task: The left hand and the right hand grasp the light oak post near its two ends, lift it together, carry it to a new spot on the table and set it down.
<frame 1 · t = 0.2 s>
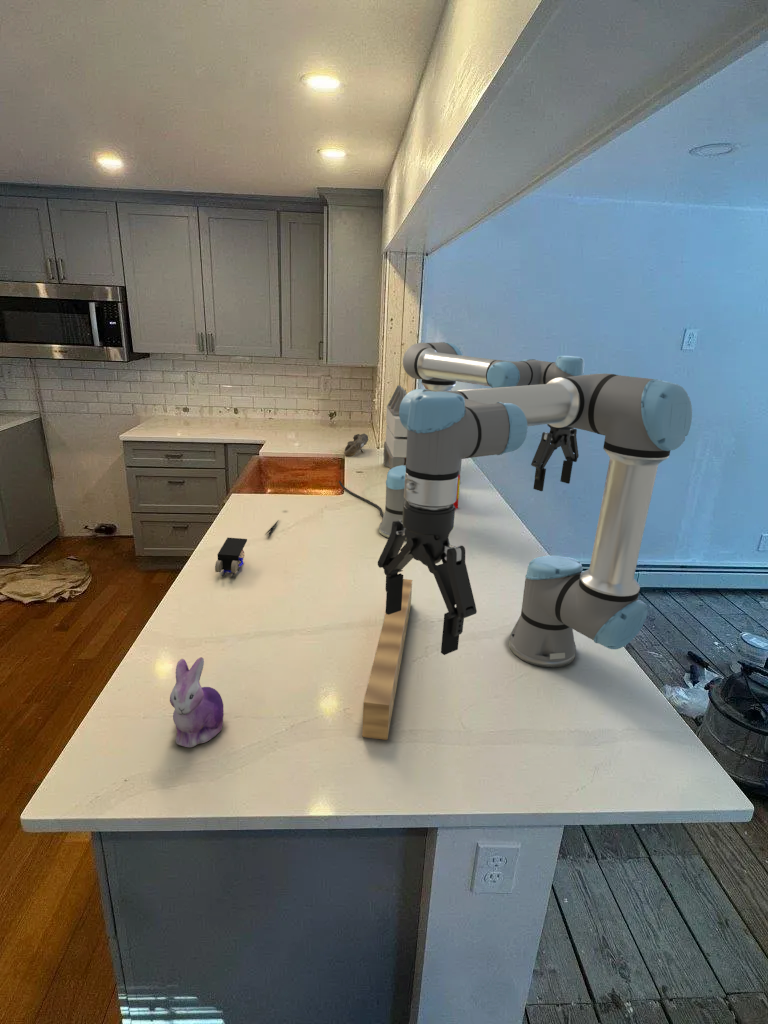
left hand: (551, 486, 165), 28 cm above the counter, tool pointing down, fingers open, 13 cm apart
right hand: (419, 630, 89), 28 cm above the counter, tool pointing down, fingers open, 13 cm apart
feather: (276, 524, 203), on the counter
toy: (441, 497, 240), on the counter
figurine: (199, 731, 104), on the counter
post: (390, 659, 128), on the counter
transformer: (419, 473, 275), on the counter
fossil: (356, 452, 308), on the counter
black boxy wheeled piece: (232, 569, 168), on the counter
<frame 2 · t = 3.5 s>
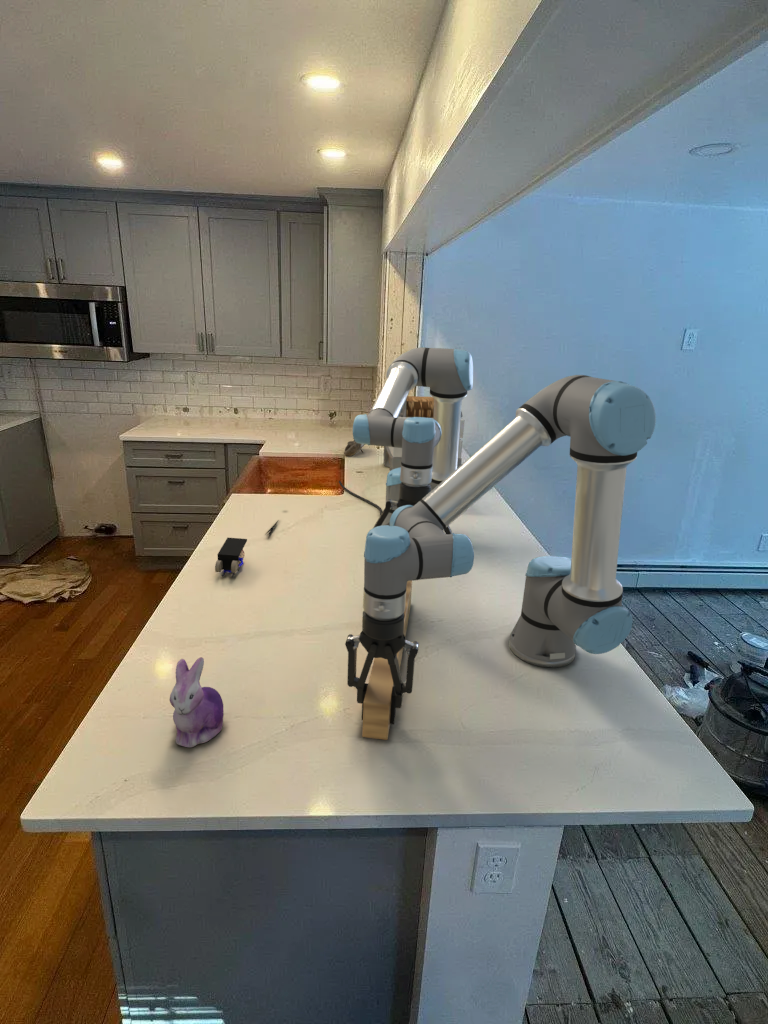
left hand: (410, 563, 143), 14 cm above the counter, tool pointing down, fingers open, 13 cm apart
right hand: (378, 717, 109), 1 cm above the counter, tool pointing down, fingers closed on post, 5 cm apart
post: (390, 659, 128), on the counter, touching right hand
everything else where it was.
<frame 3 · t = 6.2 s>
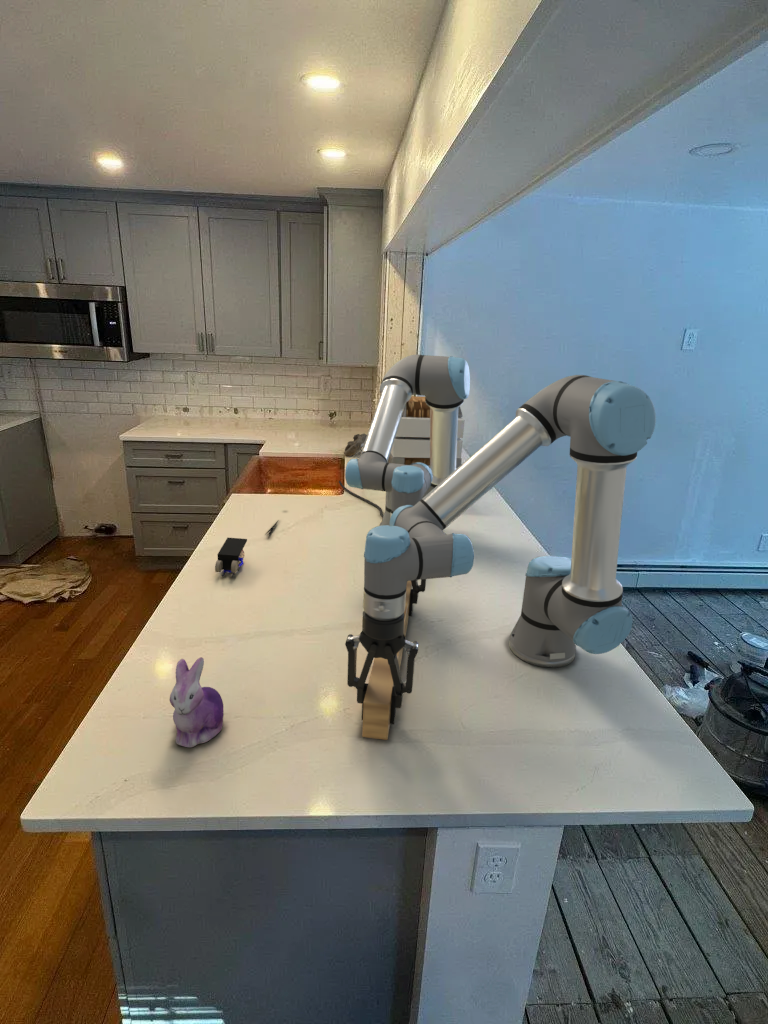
left hand: (400, 612, 147), 1 cm above the counter, tool pointing down, fingers closed on post, 5 cm apart
right hand: (378, 717, 109), 1 cm above the counter, tool pointing down, fingers closed on post, 5 cm apart
post: (390, 659, 128), on the counter, touching left hand, right hand
everything else where it was.
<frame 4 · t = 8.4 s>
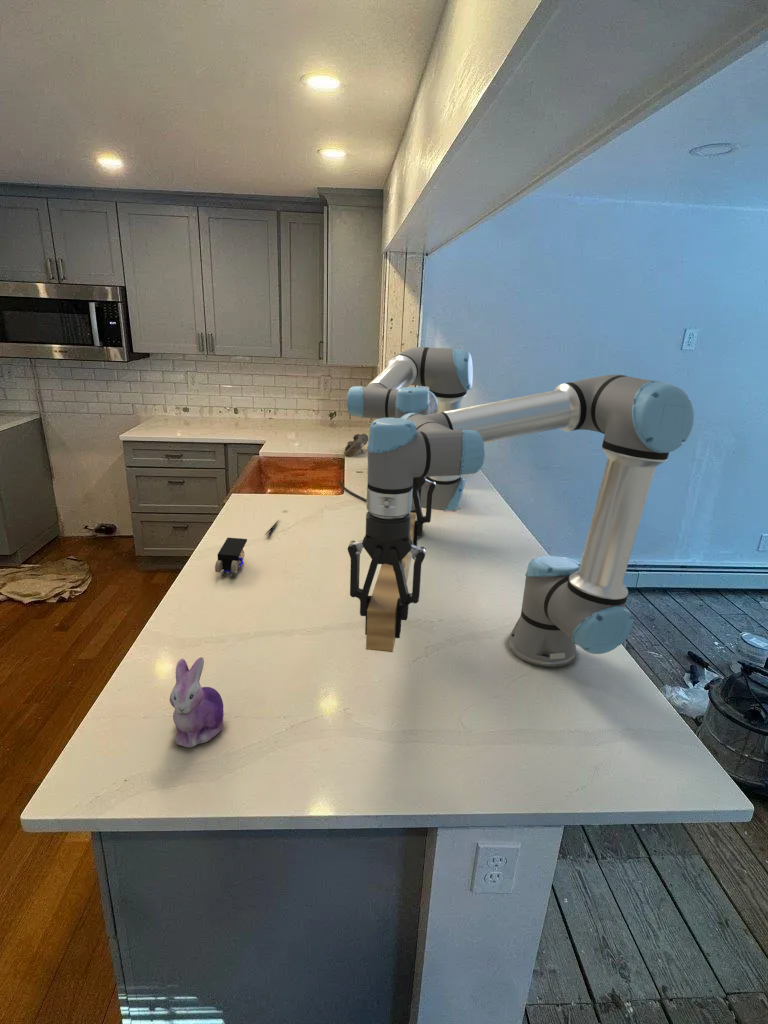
left hand: (404, 545, 141), 19 cm above the counter, tool pointing down, fingers closed on post, 5 cm apart
right hand: (383, 632, 103), 19 cm above the counter, tool pointing down, fingers closed on post, 5 cm apart
post: (395, 585, 122), point 19 cm above the counter, touching left hand, right hand
everything else where it was.
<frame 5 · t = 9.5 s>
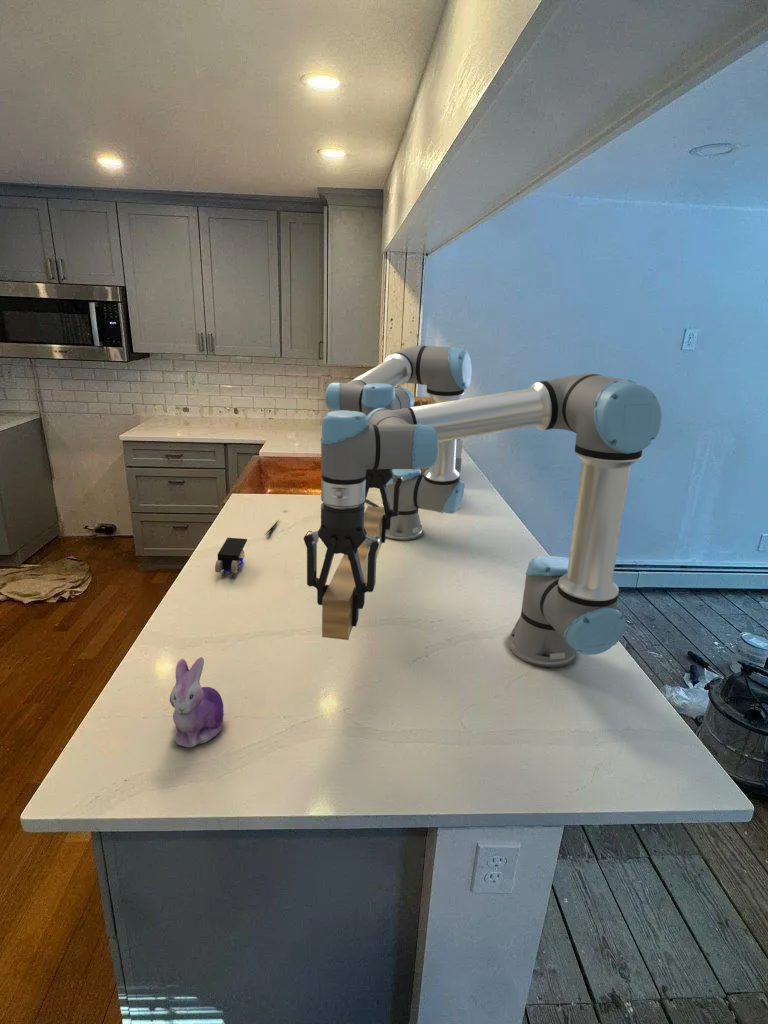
left hand: (372, 539, 143), 19 cm above the counter, tool pointing down, fingers closed on post, 5 cm apart
right hand: (340, 620, 105), 20 cm above the counter, tool pointing down, fingers closed on post, 5 cm apart
post: (359, 576, 124), point 19 cm above the counter, touching left hand, right hand
everything else where it was.
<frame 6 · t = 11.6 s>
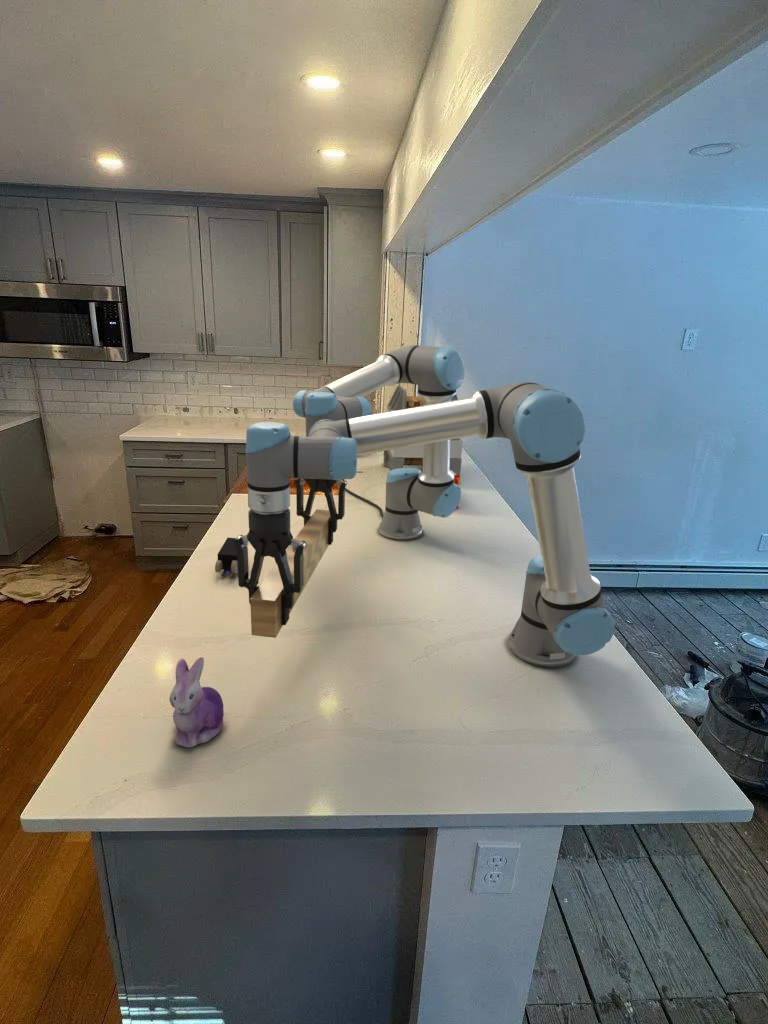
left hand: (320, 541, 149), 16 cm above the counter, tool pointing down, fingers closed on post, 5 cm apart
right hand: (271, 619, 111), 16 cm above the counter, tool pointing down, fingers closed on post, 5 cm apart
post: (299, 577, 130), point 16 cm above the counter, touching left hand, right hand
everything else where it was.
when the left hand's fingers open (2 cm above the counter, at t = 13.3 s): post drops 2 cm, on the counter.
when the right hand's fingers open (2 cm above the counter, at t = 13.3 s): post drops 2 cm, on the counter.
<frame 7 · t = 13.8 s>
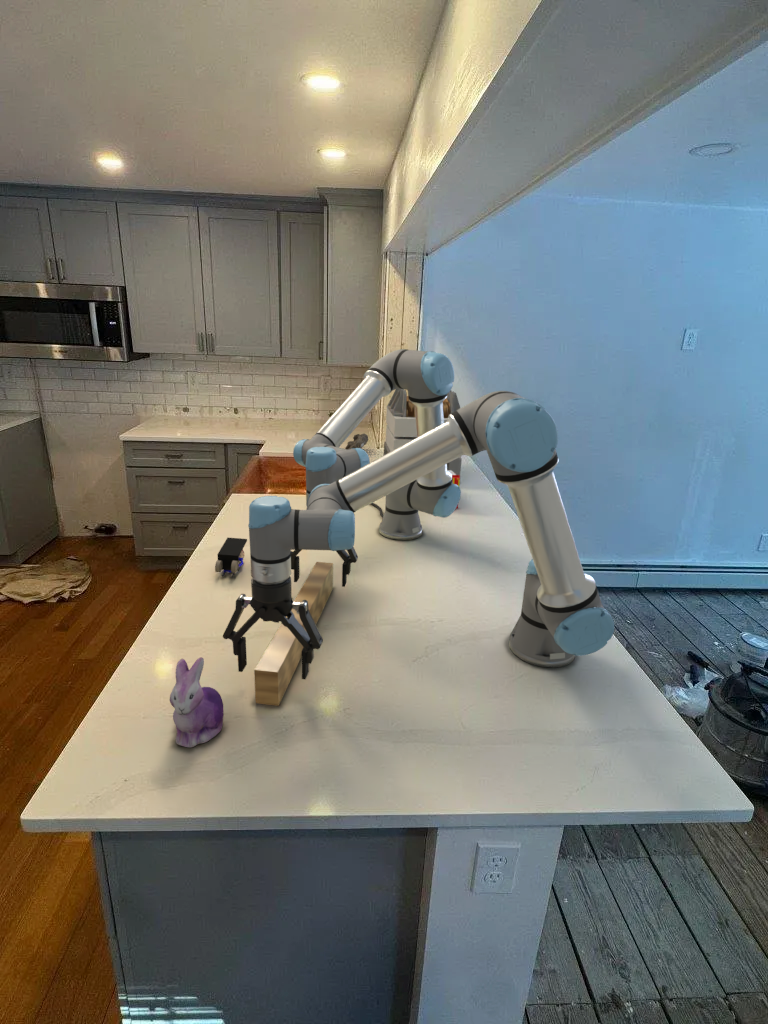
left hand: (320, 582, 153), 4 cm above the counter, tool pointing down, fingers open, 12 cm apart
right hand: (273, 671, 115), 4 cm above the counter, tool pointing down, fingers open, 12 cm apart
post: (300, 635, 136), on the counter
everything else where it was.
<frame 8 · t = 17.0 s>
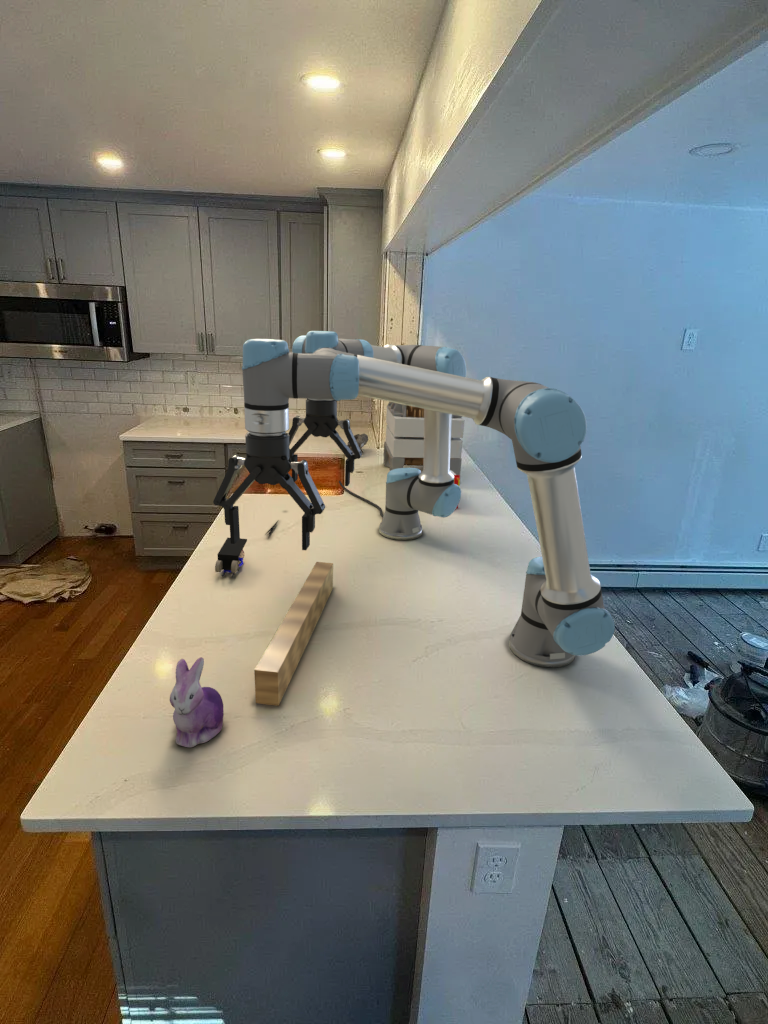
left hand: (320, 482, 144), 32 cm above the counter, tool pointing down, fingers open, 13 cm apart
right hand: (270, 544, 106), 32 cm above the counter, tool pointing down, fingers open, 13 cm apart
nothing on the counter moved.
at the end: post inside the target area (0.1 cm from its centre), on the counter; post tilted 0°; post never tilted more than 1° during the clip; both hands held the post at the same time; the left hand is holding nothing; the right hand is holding nothing; post at rest at the end (0.0 cm/s) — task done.
